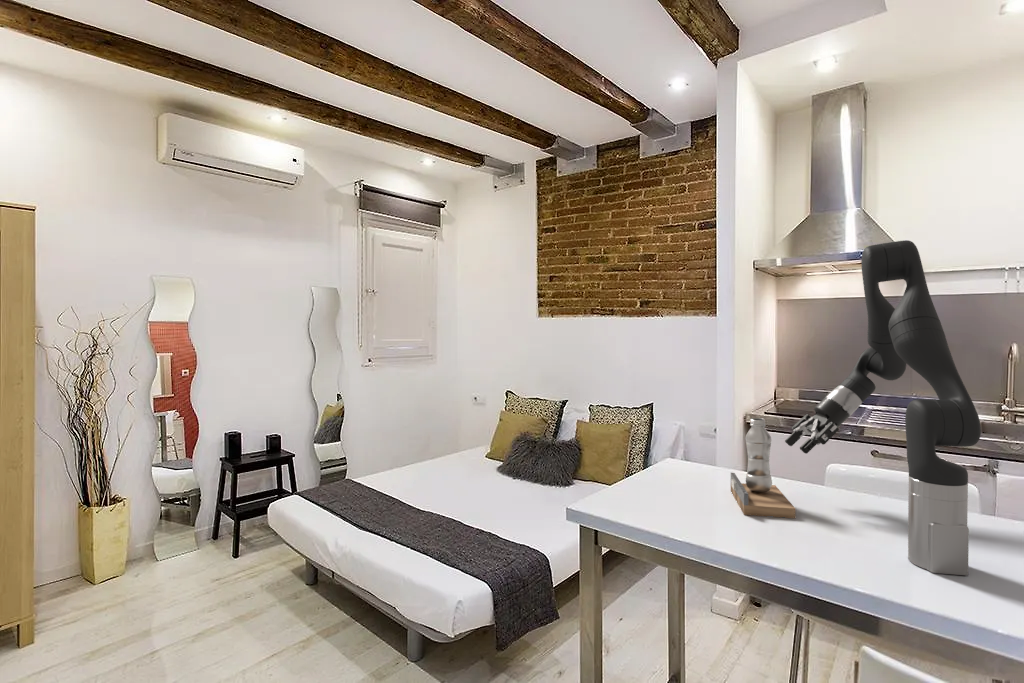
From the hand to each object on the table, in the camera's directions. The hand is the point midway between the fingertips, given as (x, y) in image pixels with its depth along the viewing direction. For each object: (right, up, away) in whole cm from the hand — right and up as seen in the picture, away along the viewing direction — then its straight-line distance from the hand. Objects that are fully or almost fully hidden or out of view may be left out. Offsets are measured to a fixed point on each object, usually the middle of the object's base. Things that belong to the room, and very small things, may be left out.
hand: (794, 447), depth 144 cm
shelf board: (-10, -15, -2) cm, 18 cm away
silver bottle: (-9, -12, +1) cm, 16 cm away
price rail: (-16, -12, -1) cm, 20 cm away
